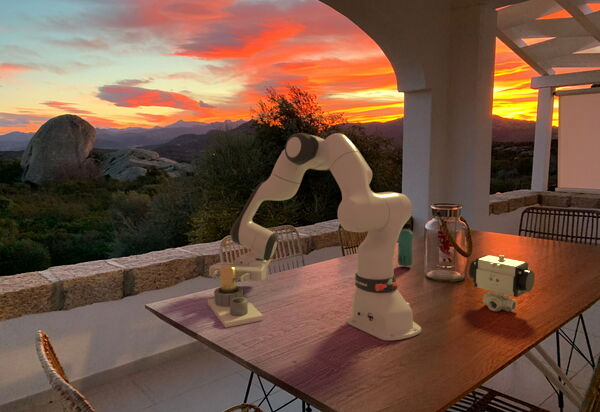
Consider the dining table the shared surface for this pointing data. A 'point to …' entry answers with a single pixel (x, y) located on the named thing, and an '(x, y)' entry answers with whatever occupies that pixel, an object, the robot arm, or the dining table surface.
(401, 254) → the beverage bottle
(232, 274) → the amber cylinder
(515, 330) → the dining table surface
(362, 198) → the robot arm
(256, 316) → the fitting plate
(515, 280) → the ball valve
